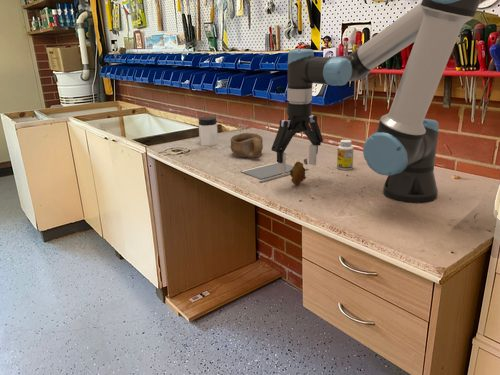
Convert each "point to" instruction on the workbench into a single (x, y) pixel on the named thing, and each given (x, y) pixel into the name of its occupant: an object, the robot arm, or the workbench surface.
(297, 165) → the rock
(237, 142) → the bowl
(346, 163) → the supplement bottle
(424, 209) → the workbench surface
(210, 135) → the jar
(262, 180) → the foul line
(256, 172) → the mat
